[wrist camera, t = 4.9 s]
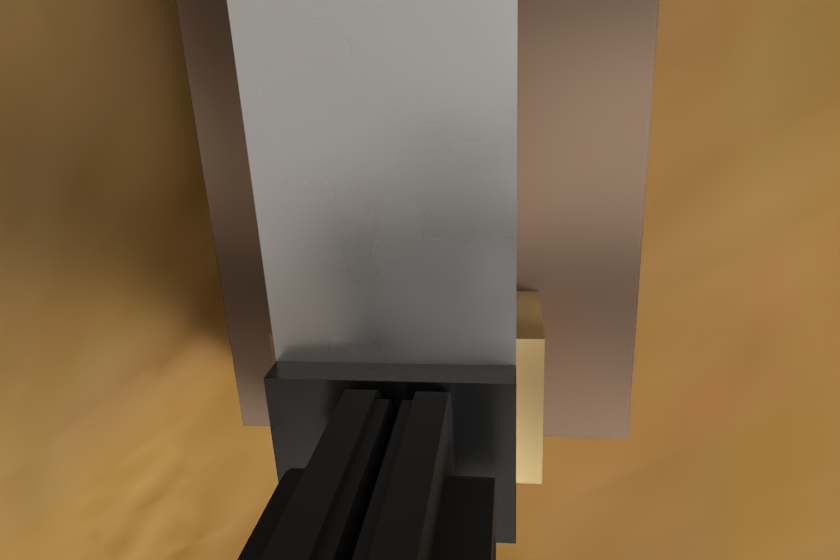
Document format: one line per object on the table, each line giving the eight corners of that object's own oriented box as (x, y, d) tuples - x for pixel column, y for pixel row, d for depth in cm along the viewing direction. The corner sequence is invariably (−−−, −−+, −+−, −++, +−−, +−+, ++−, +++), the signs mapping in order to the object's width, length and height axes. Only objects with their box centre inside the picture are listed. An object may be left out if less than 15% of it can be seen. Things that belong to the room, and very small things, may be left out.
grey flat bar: (530, 494, 12) (533, 568, 11) (304, 483, 13) (272, 551, 11) (548, -865, 7) (563, -1193, 5) (142, -765, 7) (25, -1024, 6)
